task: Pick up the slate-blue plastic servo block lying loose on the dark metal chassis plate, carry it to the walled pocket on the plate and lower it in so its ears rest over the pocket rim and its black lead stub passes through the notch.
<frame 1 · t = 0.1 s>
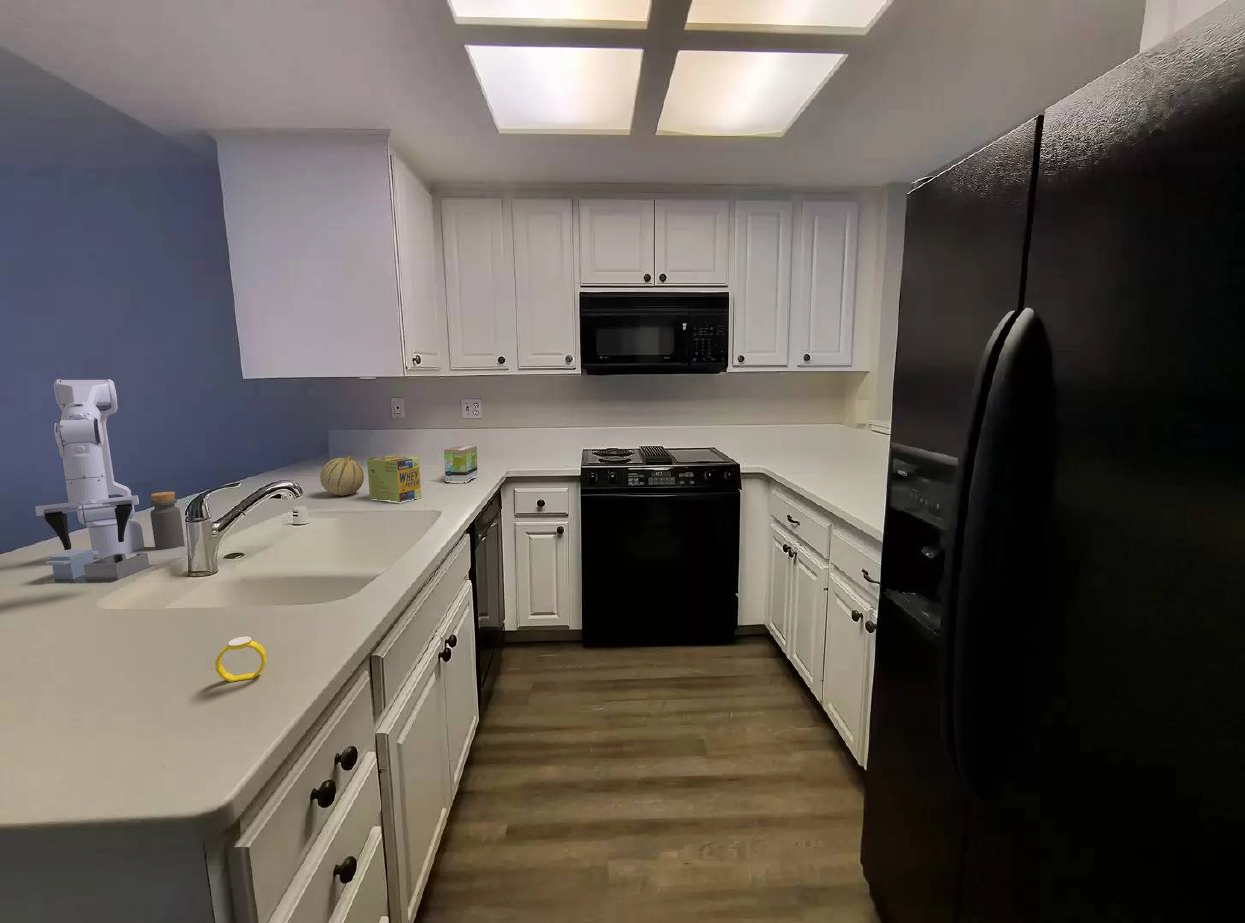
hand: (95, 545, 107), 11 cm above the countertop, tool pointing down, fingers open, 7 cm apart
cantaloupe: (344, 495, 203), on the countertop
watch: (243, 679, 78), on the countertop
bottle: (170, 550, 138), on the countertop
protein box: (396, 500, 196), on the countertop
chassis: (101, 577, 118), on the countertop
servo: (75, 574, 117), point 1 cm above the countertop, touching chassis
tea box: (462, 481, 233), on the countertop
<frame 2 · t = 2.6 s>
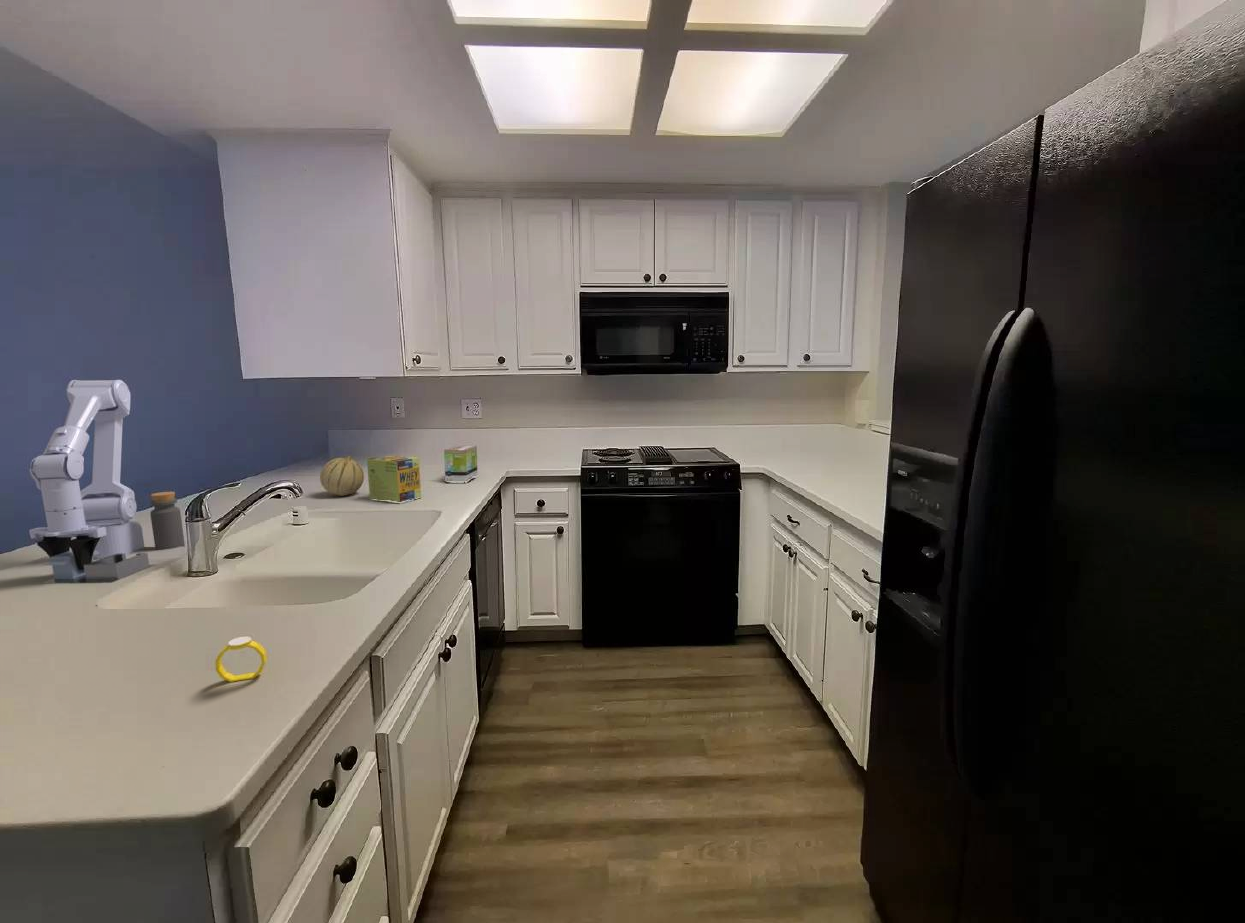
hand: (74, 568, 117), 2 cm above the countertop, tool pointing down, fingers closed on servo, 4 cm apart
servo: (75, 574, 117), point 1 cm above the countertop, touching chassis, gripper
everything else where it was.
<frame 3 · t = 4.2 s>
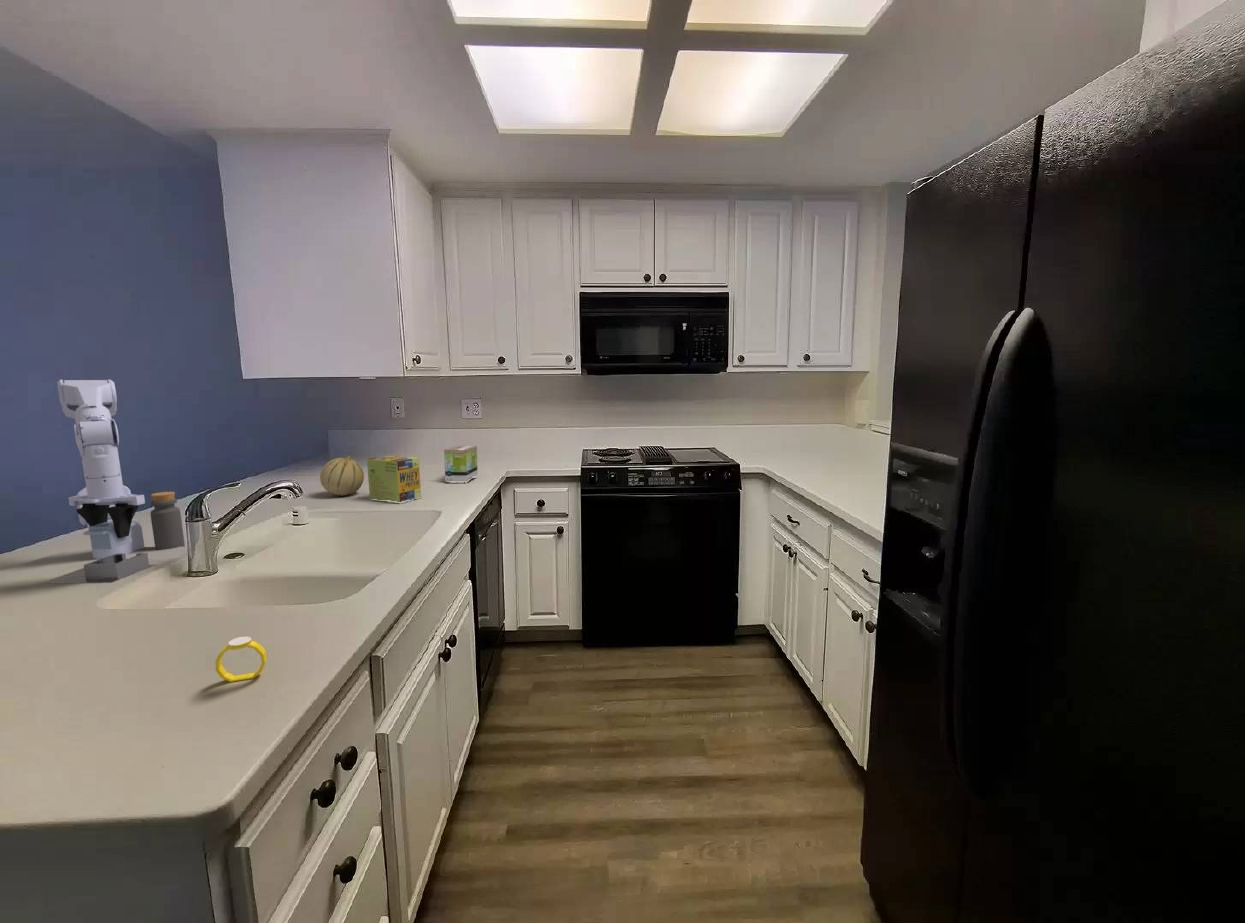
hand: (112, 536, 117), 9 cm above the countertop, tool pointing down, fingers closed on servo, 4 cm apart
servo: (112, 545, 117), point 8 cm above the countertop, touching gripper
everything else where it was.
when the fingers open (5 cm above the countertop, at t = 5.8 s): servo drops 2 cm, resting on chassis.
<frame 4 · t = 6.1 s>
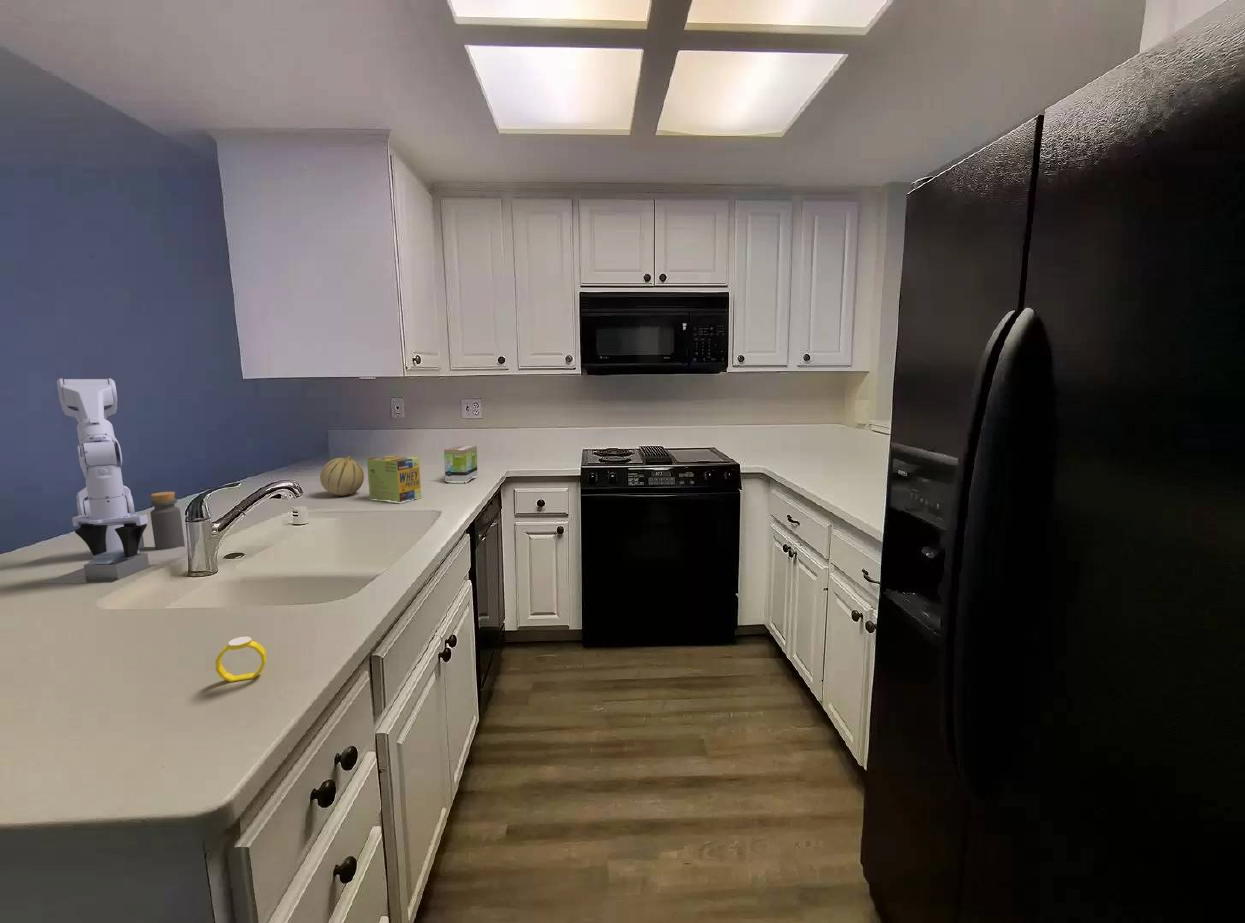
hand: (116, 556, 117), 5 cm above the countertop, tool pointing down, fingers open, 6 cm apart
servo: (117, 573, 118), point 1 cm above the countertop, touching chassis
everything else where it was.
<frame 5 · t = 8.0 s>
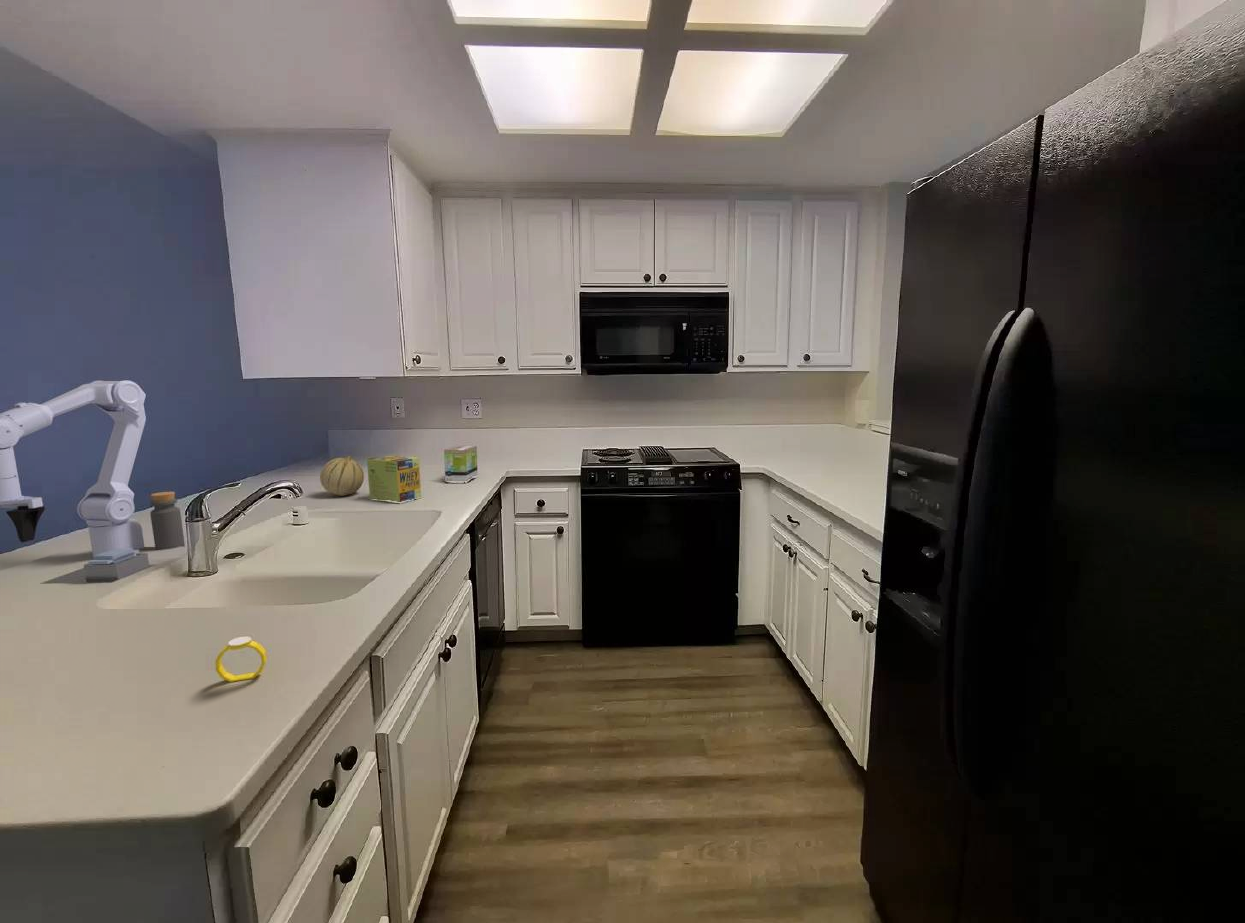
hand: (9, 541, 112), 10 cm above the countertop, tool pointing down, fingers open, 7 cm apart
nothing on the countertop moved.
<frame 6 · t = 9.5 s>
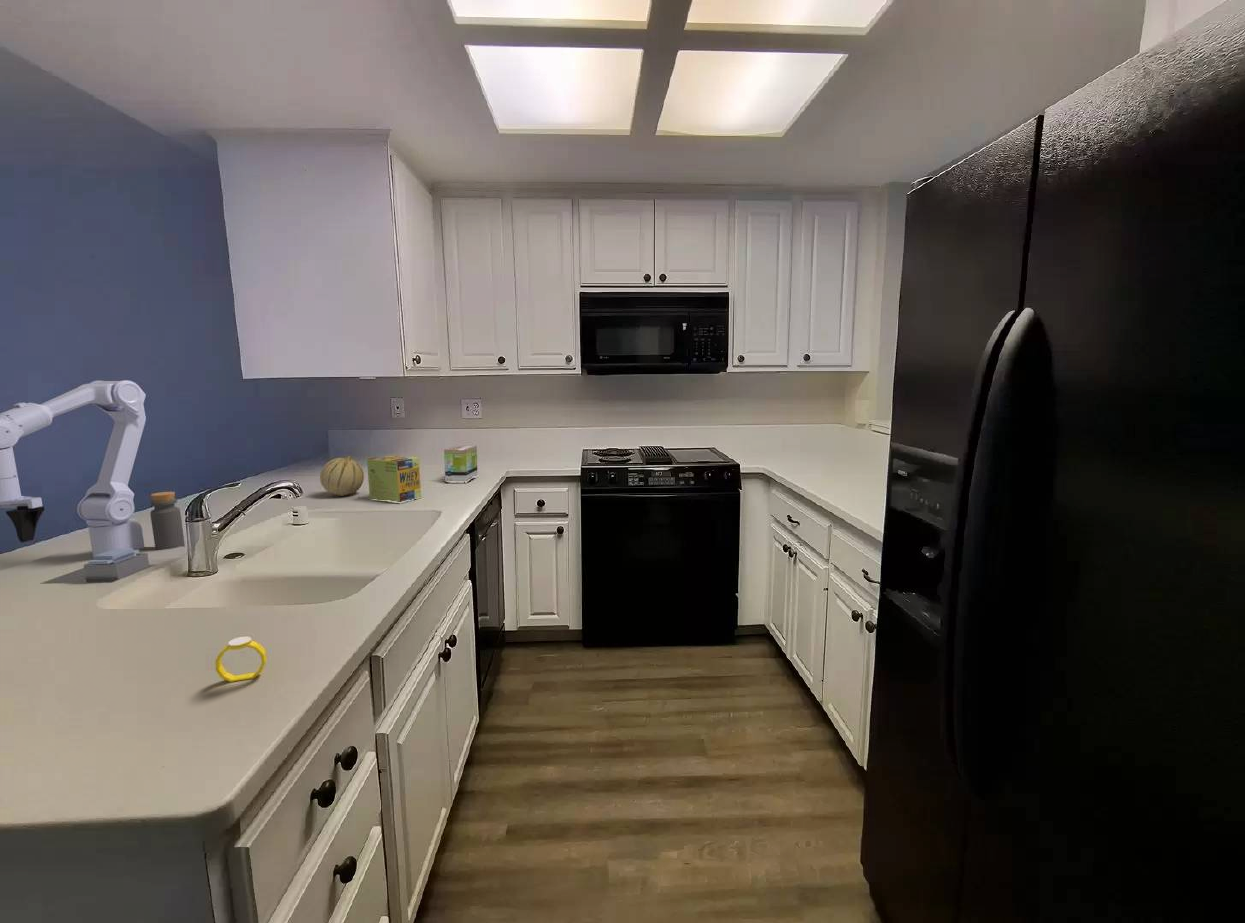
hand: (8, 541, 112), 10 cm above the countertop, tool pointing down, fingers open, 7 cm apart
nothing on the countertop moved.
at the end: servo 0.3 cm from the target spot on the chassis, point 1.0 cm above the chassis's base; servo tilted 0°; the gripper is holding nothing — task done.
